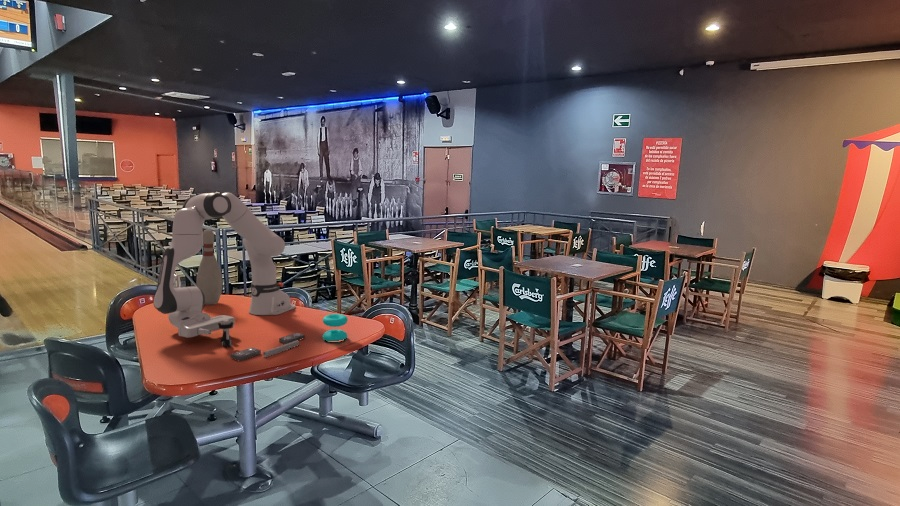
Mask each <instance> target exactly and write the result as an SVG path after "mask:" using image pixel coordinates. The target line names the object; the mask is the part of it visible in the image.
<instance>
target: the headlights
mask: <svg viewBox="0 0 900 506" xmlns="http://www.w3.org/2000/svg"><path fill="white" fill-rule="evenodd" d="M302 338H305V339H306V334H303V333H300V332H294V333H290V334H287V335H285V336H282V337H279V338H278V339H279V340H278V341H279V343H282V345H279V346H276V347H274V348H272V349H271V348H270V349H268V350H265V351H263V353H262V350H261V349H259V348H255V347H253V346H252V347H251V346H250V347H248V348H245V349H242V350H239V351H237V352H233V353H231V354H230V359H231V358H233V359H232V360H234V359H236V360H235V361H237V360H239V361H238V362H242V361H241V360H243V361H245V360H244V359H246V360H248V359H250V357H251V358H253V357H252V356H254V357H257V356H259V354H260V355H261V354H263V358H264V357H267V358H269V357H272V356H275V355H277V353H278V354H280V353H283V352H285V350H286V351H288V350H287V349H289V350H291V349H293V348H292V347H294V346H297V345H299V346H300V341H301V340H300V339H302ZM297 340H300V341H297ZM284 343H285V344H284ZM297 347H298V346H297ZM290 348H291V349H290ZM294 348H295V347H294ZM282 351H283V352H282ZM274 354H275V355H274ZM256 355H257V356H256ZM271 355H272V356H271ZM268 356H269V357H268ZM247 358H248V359H247Z"/></svg>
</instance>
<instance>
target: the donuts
mask: <svg viewBox="0 0 900 506" xmlns="http://www.w3.org/2000/svg"><path fill="white" fill-rule="evenodd" d="M348 320H349V319H348V317H347V316H346V315H345V314H342V313H341V314H340V313H332V314H327V315H325V316H324V317H323V318H322V323H323V324H324V325H325V326H327V327H331V328H332V327H333V328H335V329H329V330H327V331H325V332H324V333H323V334H322V339H323V341H325V340H326V341H339V340H343V339H346V338H347V339H348V333H347V332H346V331H345V330H342V329H336V328H339V327H342V326H344V325H346V324H347V323H348ZM347 339H346V340H347ZM326 341H325V342H326Z"/></svg>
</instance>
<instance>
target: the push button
mask: <svg viewBox="0 0 900 506" xmlns="http://www.w3.org/2000/svg"><path fill="white" fill-rule="evenodd" d="M218 325H219V328H221V329H220V330H222V336H221V338H220V340H219V341H220V344H221V346H222V347H224V348H225V347H226V348H229V347H232V338H231V335H230V330H231V329H232V328H231V327H233V328H234V326H233V322H231V320H228V319H226V320H221V322H220V323H218ZM230 328H231V329H230ZM223 345H224V346H223Z"/></svg>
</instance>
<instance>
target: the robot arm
mask: <svg viewBox="0 0 900 506" xmlns="http://www.w3.org/2000/svg"><path fill="white" fill-rule="evenodd" d="M173 216H174V217H173V221H172V229H171V230H172V235H171V236H172V238H171V242H170V244H169V246H168V247H167V248H165V250H164V251H163V254H162V257H161V263H160V267H159V273H158V274H159V275H158V280H157V286H156V289H155V291H154V296H153V300H152V303H153V306H154V307H153V308H155V309H156V310H157V311H158V312H159V313H161V314H164V315H167V314H168V317H167V318H168V321H169V323H170V324H171V325H172V326H173V327H175V328H176V329H177V331H178V336H179V337H183V338H188V339H189V338H193V337H197V336H200V335H207V336H209V335H211V334H212V333H213V332H215V331H219V330H222V329H221V328H219V325H218V323H220V322H221V320H226V319H228V320H231V322H233V327H231V328H230V329H229V330H232V329H233V328H234V326H235V324H236V323H235V322H236V321H235V317H234V316H231V315H225V314H224V315H223V314H221V315H217V316H212V317H211V315H210V314H208V313H207V312H203V310H204V307H205V295H204V293H203V292H202V290H201V289H200V288H198V287H197V285H195V286H183V287H180V288H173V281H174V275H176V269H177V266H178V265H179V264H180V263H181V262H183V261H184V260H187V259H189V258H191V257H194V256H195V255H198V253H199V252H200V251H201V250H202V248H203V246H204V245H203V232H204V230H203V229H204V228H203V224H204V222H205V221H206V220H213V219H220V218H223V220H224V221H225V222H226V223H227V224H228V225H229V226H230V227H231V229H233V231H235V232H236V234H238V235H239V236H240V237H242V245H243V247H244V249H245V250H246V252H247V255H248V259H249V262H250V268H251V284H250V292H251V299H250V306H249V309H248V313H249V314H251V315H254V316H255V315H256V316H270V315H271V316H274V315H275V316H276V315H281V314H284V313H286V312H289V311H292V310H294V309H296V307H297V306H296V305H295V304H294V303H291V298H290V295H288V294H287V293H286V292H284V291H283V290H281V289H280V288H283V287H284V282H277V267H276V264H275V263H274V261H273V257H278V256H280V255H282V253H284V251H285V248H286V243H285V241H284V239H283V238H282V237H281V236H279V235H277V234H276V233H275V232H274V231H273V230H272V229H270V227H268V225H266V224H265V223H264V222H262V221H261V220H260V219H259V218H257V216H256V215H255V214H254V213H253V212H252V211H251V209H249V207H248V206H247V205H246V204H245V203H244V202H243V201H242V200H241V199H240V198H239V197H237V196H236V195H235V194H234V193H232V192H228V191H226V192H223V193H219V192H208V193H207V192H206V193H205V192H204V193H201V194H198V195H197V194H196V195H192V196H190V197H188V198H187V199H185V201H184V203H183V205H182V208H180V209H178V210H177V211H175V214H174V215H173Z"/></svg>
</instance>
